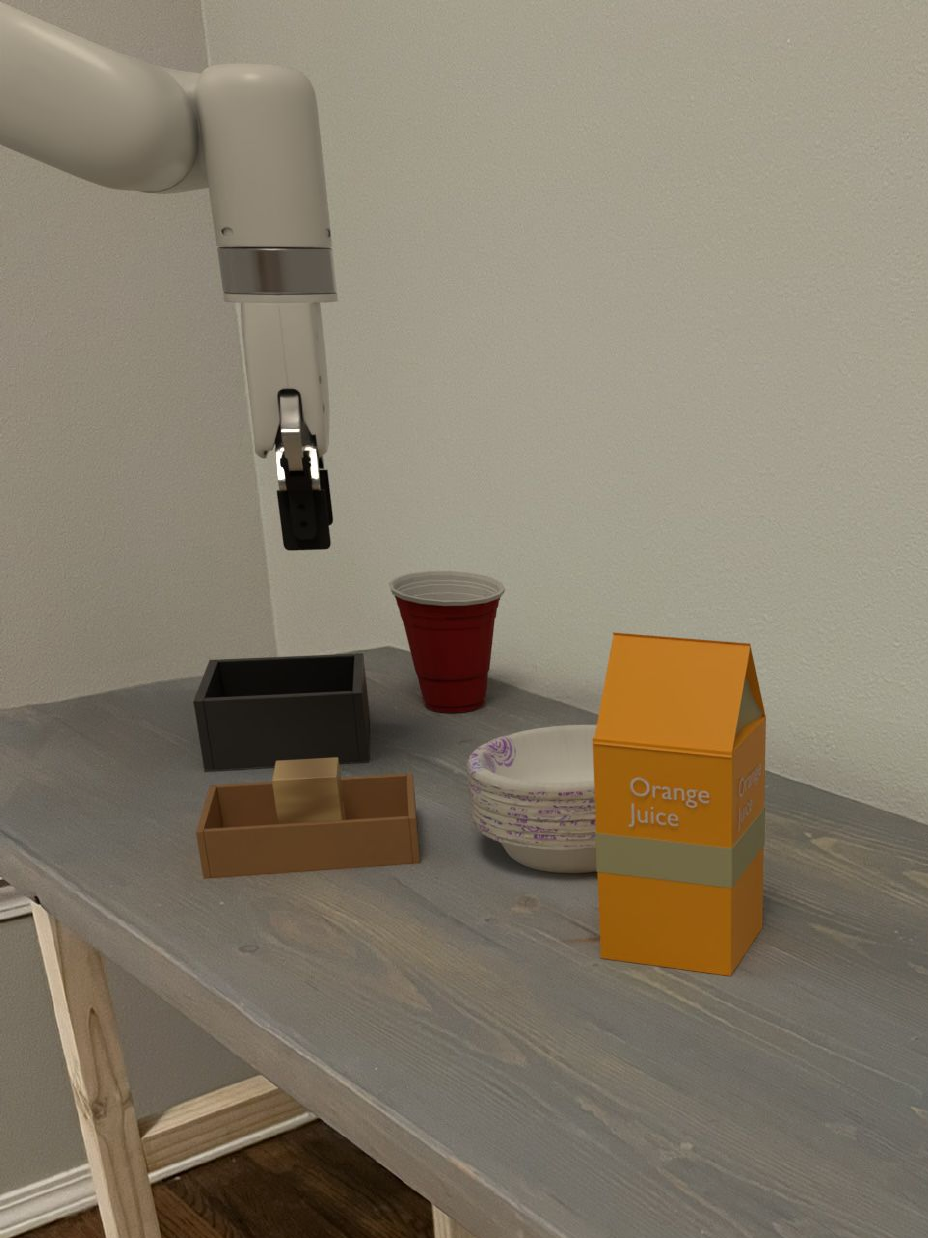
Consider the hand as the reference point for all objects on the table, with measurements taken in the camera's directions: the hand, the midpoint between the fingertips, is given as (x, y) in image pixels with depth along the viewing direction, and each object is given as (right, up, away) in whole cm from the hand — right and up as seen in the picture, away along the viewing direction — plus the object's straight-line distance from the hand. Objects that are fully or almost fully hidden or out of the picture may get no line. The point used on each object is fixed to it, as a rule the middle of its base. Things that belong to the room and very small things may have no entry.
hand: (310, 536), depth 108 cm
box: (0, -23, +2) cm, 23 cm away
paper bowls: (+19, -23, +2) cm, 30 cm away
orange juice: (+28, -30, -12) cm, 43 cm away
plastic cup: (+4, -6, +37) cm, 37 cm away
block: (0, -22, +2) cm, 23 cm away
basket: (-9, -12, +24) cm, 28 cm away
